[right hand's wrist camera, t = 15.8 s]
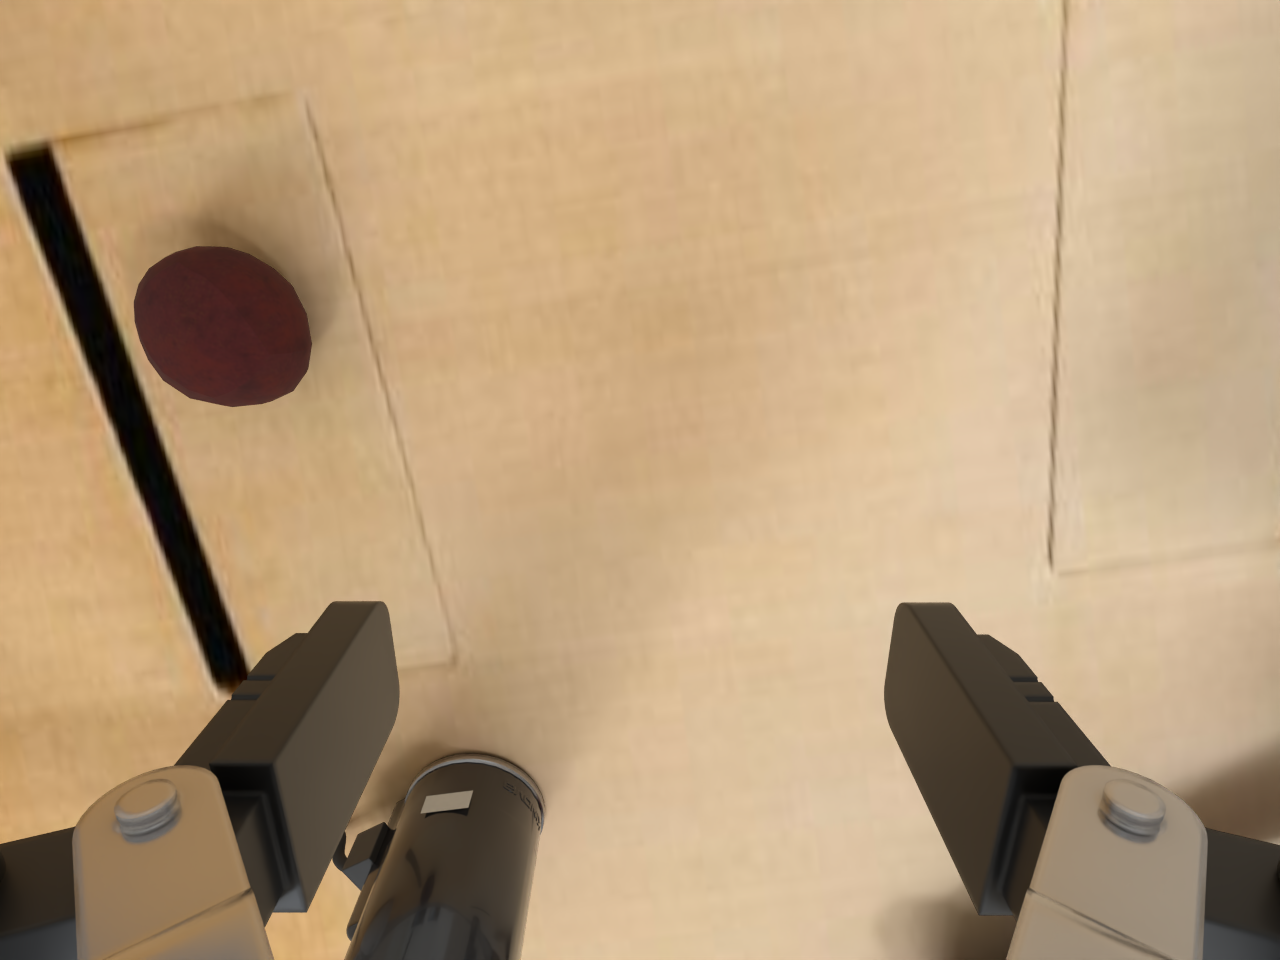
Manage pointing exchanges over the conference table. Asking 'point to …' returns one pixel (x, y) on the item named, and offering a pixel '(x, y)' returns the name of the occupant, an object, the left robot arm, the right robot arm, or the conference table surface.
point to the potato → (222, 326)
